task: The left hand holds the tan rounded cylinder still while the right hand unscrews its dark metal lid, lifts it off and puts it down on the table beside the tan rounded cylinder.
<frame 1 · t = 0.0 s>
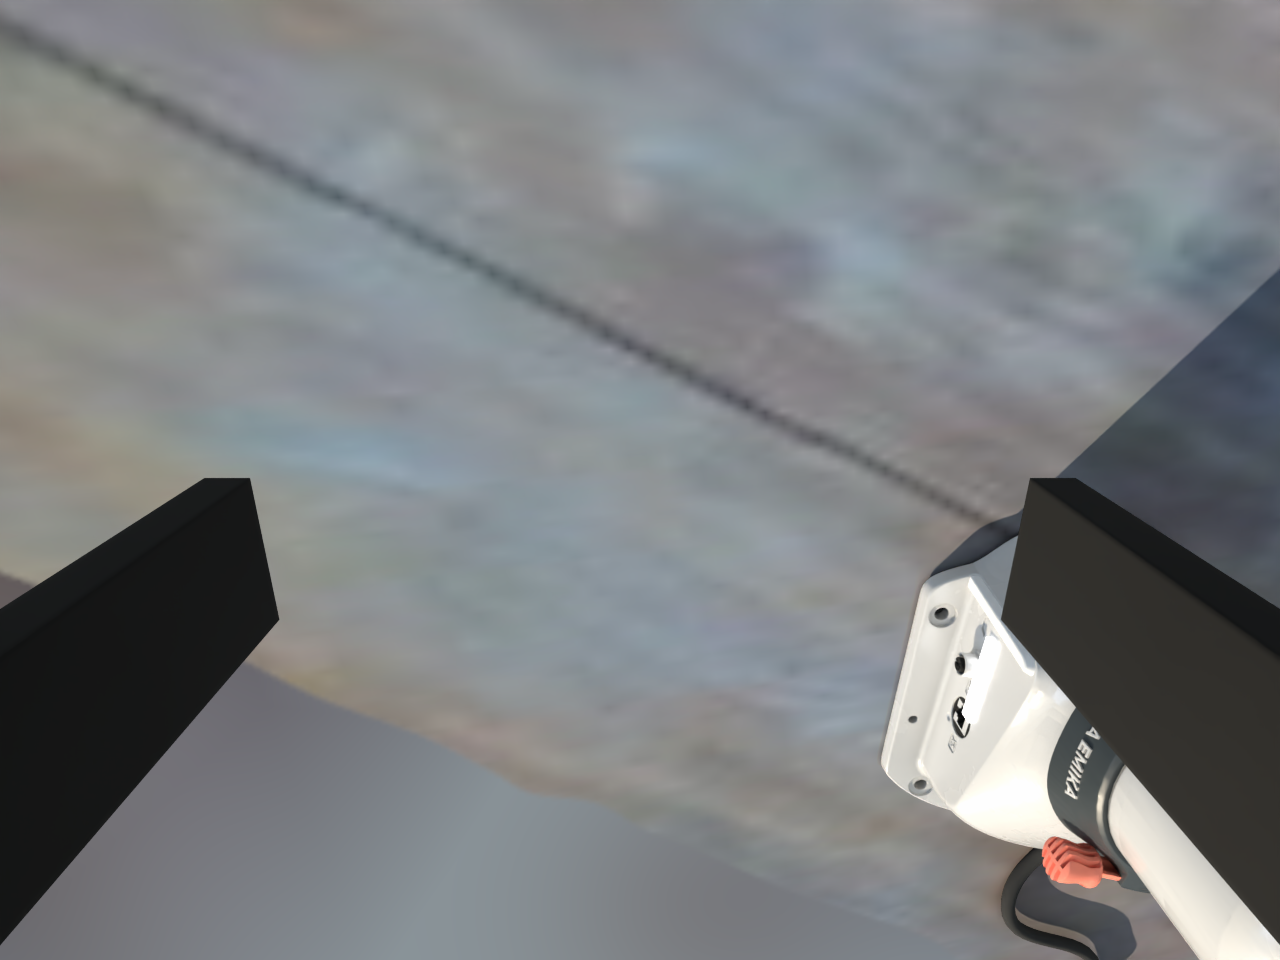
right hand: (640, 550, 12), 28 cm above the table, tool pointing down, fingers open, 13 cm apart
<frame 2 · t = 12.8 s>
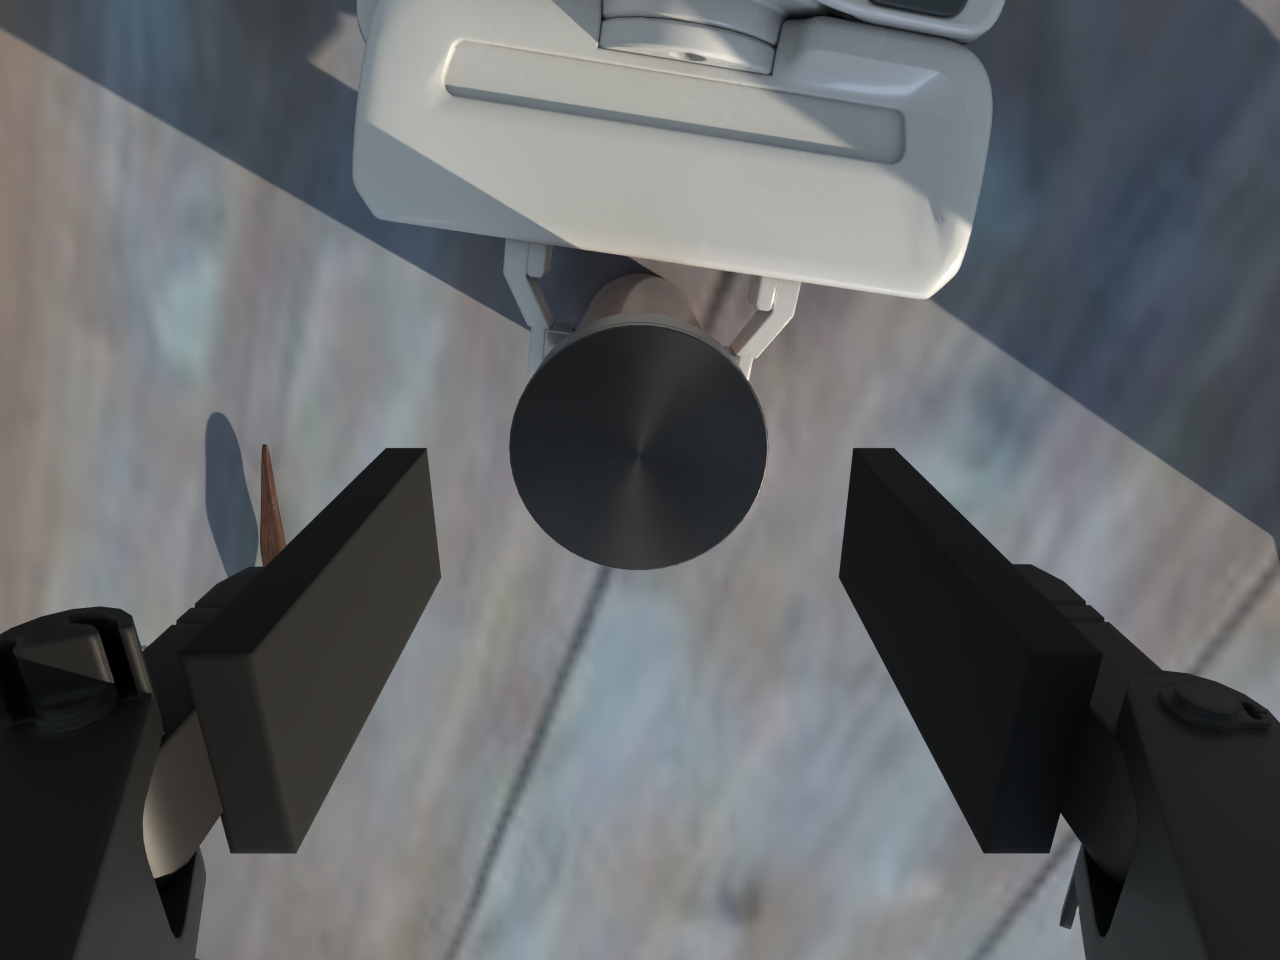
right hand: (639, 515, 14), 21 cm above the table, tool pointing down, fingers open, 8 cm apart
left hand: (637, 386, 27), fingers closed on tan rounded cylinder, 5 cm apart
lid: (638, 450, 17), point 17 cm above the table, screwed on, not yet turned
tan rounded cylinder: (639, 331, 33), on the table, touching left hand
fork: (282, 584, 38), on the table
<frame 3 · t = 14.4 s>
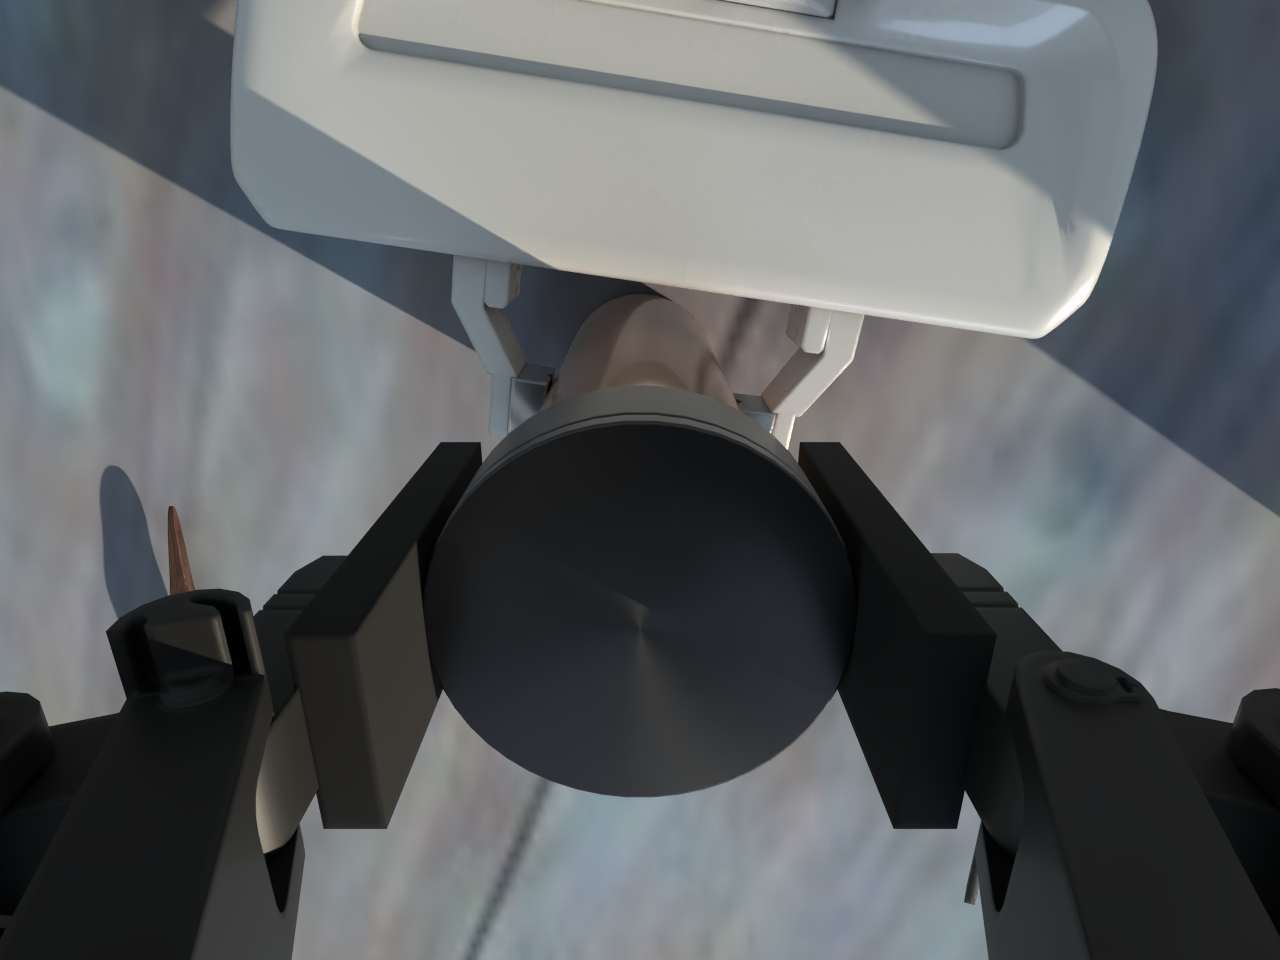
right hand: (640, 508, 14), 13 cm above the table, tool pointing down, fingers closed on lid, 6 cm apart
left hand: (637, 450, 20), fingers closed on tan rounded cylinder, 5 cm apart
lid: (640, 616, 11), point 17 cm above the table, screwed on, not yet turned, touching right hand
tan rounded cylinder: (640, 366, 26), on the table, touching left hand
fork: (204, 670, 31), on the table
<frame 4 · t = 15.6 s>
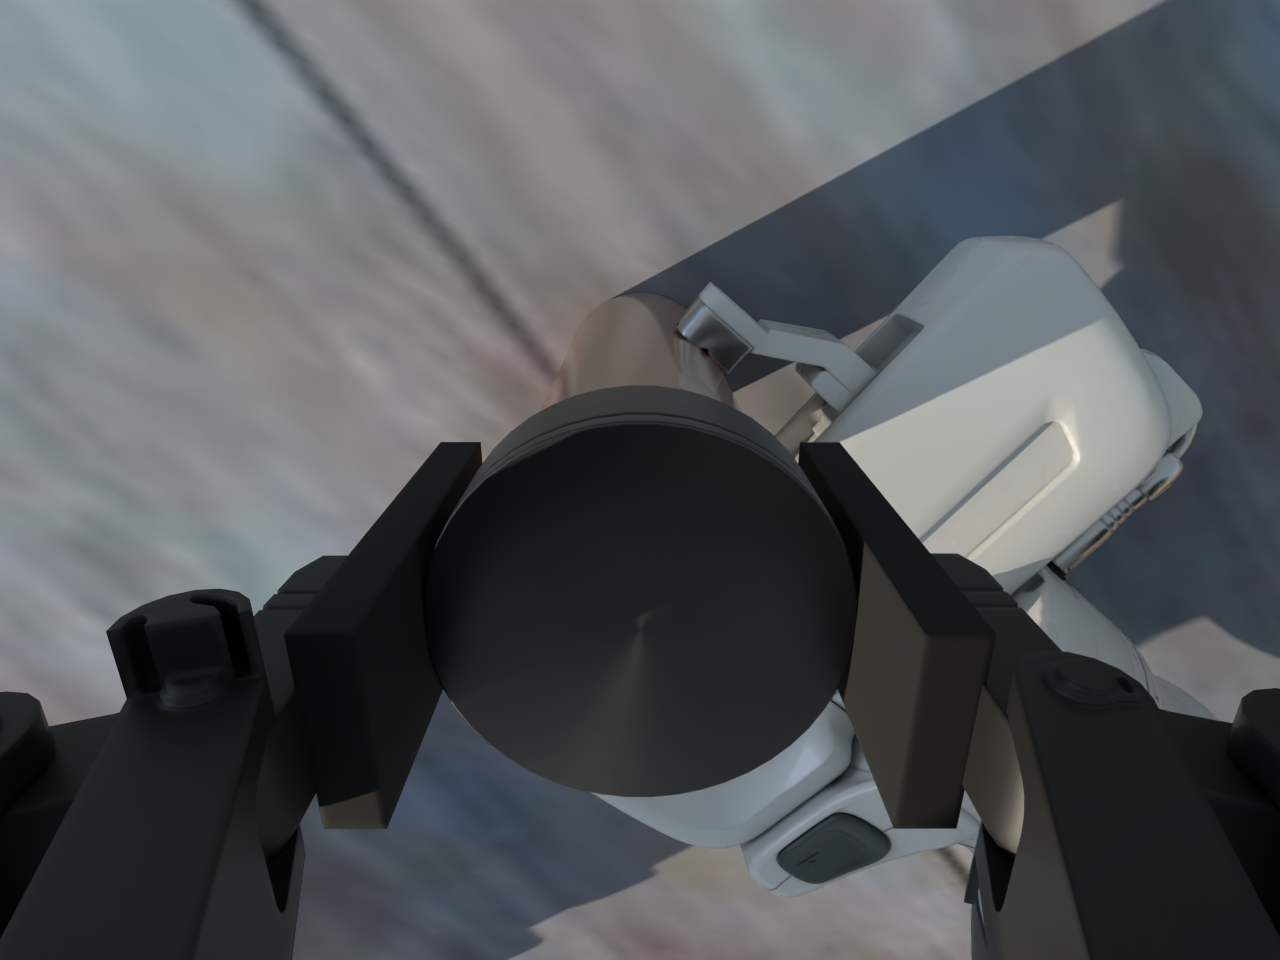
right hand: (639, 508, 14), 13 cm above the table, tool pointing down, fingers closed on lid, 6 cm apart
lid: (640, 616, 11), point 17 cm above the table, off its thread, touching right hand
tan rounded cylinder: (640, 364, 27), on the table, touching left hand
when the right hand's fingers open (0 cm above the table, at t = 21.8 s): lid drops 3 cm, point 2 cm above the table.
when the left hand's fingers open (7 cm above the table, at t = 22.5 s): tan rounded cylinder stays where it is, on the table.
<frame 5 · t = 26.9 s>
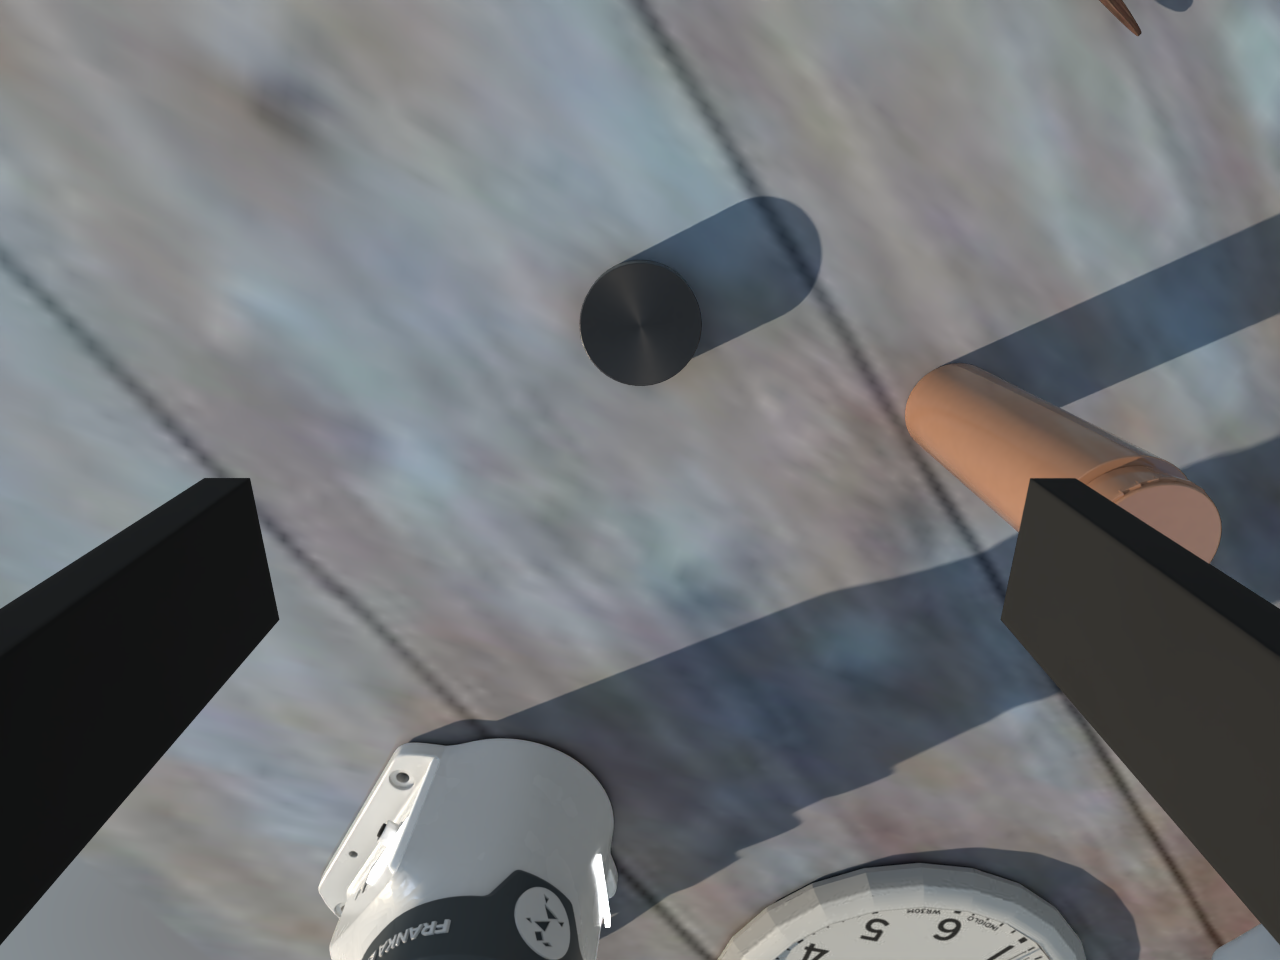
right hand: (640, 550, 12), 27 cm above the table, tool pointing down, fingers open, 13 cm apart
lid: (640, 325, 37), point 2 cm above the table, off its thread
tan rounded cylinder: (951, 409, 40), on the table
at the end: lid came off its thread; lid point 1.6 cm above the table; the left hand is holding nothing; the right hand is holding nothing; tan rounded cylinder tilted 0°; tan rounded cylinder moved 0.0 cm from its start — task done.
